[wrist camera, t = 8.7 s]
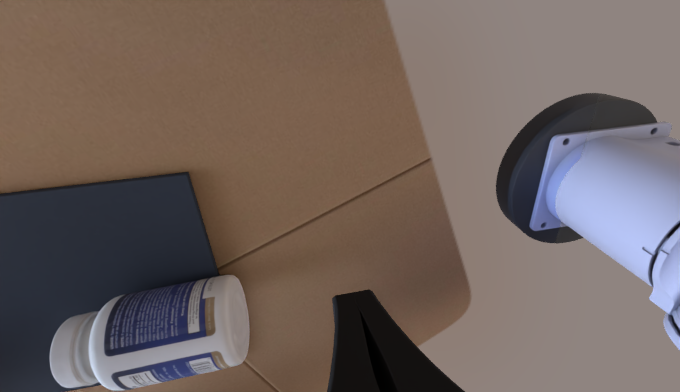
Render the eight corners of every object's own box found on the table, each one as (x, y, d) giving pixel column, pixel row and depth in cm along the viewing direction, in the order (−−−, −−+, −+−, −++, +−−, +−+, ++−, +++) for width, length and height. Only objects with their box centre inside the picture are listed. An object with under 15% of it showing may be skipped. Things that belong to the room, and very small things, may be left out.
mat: (188, 171, 19) (186, 174, 19) (243, 355, 27) (242, 359, 27) (-224, 219, 17) (-235, 224, 17) (-37, 405, 25) (-41, 411, 24)
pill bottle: (240, 263, 23) (92, 291, 22) (221, 289, 18) (27, 327, 17) (255, 337, 24) (110, 367, 23) (241, 384, 18) (52, 426, 18)
